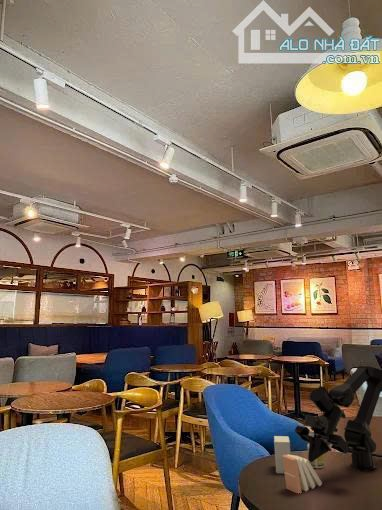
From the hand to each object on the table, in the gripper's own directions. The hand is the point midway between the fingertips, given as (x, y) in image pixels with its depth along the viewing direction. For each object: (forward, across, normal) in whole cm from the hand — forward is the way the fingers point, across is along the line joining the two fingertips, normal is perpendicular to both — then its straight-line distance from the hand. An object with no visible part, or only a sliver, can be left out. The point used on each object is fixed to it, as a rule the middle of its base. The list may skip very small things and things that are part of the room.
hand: (309, 460), depth 126 cm
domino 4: (+4, 0, +6) cm, 7 cm away
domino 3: (+6, 0, +4) cm, 7 cm away
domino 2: (+8, 0, +2) cm, 9 cm away
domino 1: (+11, 0, -1) cm, 11 cm away
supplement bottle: (-5, -11, +16) cm, 20 cm away
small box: (+4, -15, +7) cm, 17 cm away
